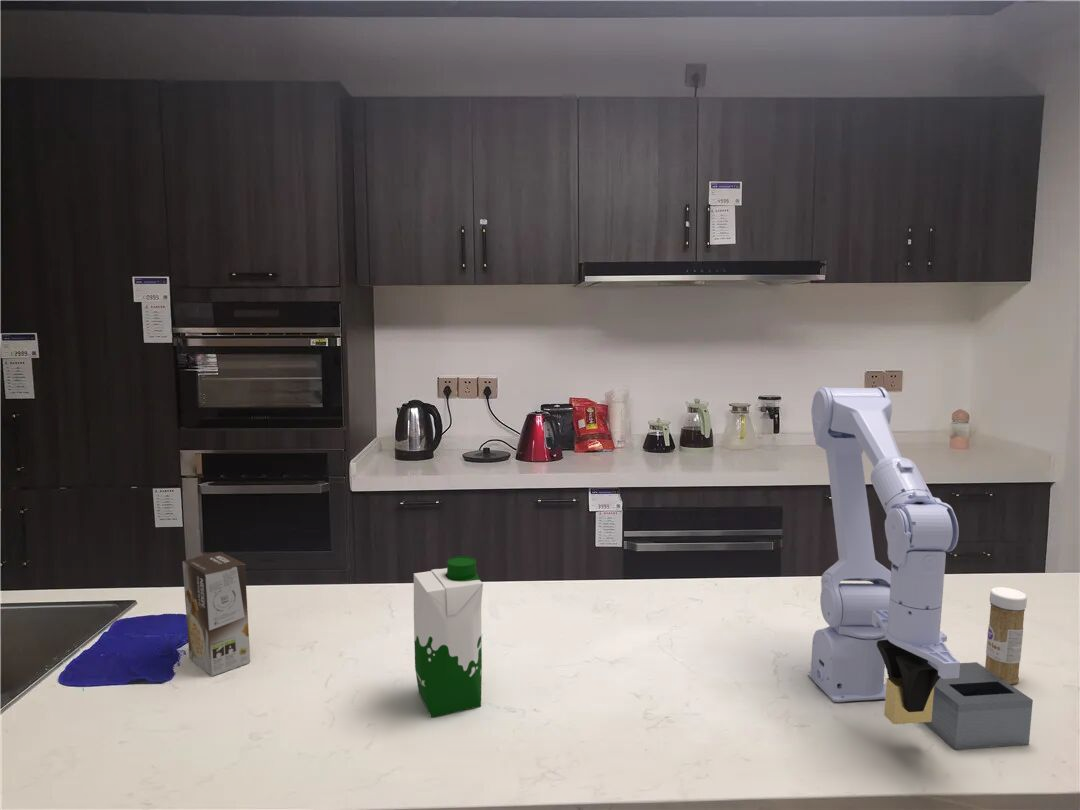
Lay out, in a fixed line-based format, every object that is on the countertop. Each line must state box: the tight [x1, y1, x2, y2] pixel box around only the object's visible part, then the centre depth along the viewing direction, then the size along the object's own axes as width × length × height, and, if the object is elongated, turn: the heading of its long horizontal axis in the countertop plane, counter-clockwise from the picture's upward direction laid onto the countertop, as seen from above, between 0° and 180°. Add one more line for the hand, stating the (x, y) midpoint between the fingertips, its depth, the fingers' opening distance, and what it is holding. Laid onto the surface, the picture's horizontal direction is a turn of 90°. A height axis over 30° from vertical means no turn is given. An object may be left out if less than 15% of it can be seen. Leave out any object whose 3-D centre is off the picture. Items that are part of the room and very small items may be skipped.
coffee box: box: [181, 551, 251, 677], centre depth 114 cm, size 9×6×16 cm
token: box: [883, 677, 934, 725], centre depth 91 cm, size 5×2×5 cm, turn 97°
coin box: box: [923, 661, 1034, 751], centre depth 96 cm, size 10×10×6 cm
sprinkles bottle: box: [984, 586, 1028, 685], centre depth 108 cm, size 5×5×13 cm
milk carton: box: [413, 556, 484, 718], centre depth 102 cm, size 9×9×20 cm
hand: (907, 704), depth 91 cm, fingers closed on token, 2 cm apart
